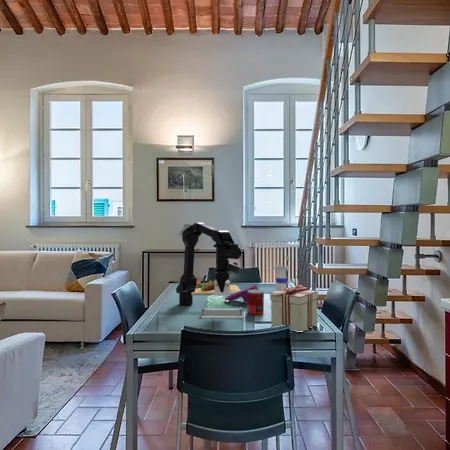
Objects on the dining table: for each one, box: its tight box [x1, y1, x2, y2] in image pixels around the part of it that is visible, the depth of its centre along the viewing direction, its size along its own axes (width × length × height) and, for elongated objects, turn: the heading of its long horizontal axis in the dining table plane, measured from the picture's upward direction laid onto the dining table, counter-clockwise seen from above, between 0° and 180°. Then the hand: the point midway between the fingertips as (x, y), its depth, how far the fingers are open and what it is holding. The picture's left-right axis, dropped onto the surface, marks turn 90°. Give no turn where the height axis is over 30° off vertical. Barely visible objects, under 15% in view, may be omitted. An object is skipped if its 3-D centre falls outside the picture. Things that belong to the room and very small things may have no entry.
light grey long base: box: [200, 306, 244, 319], centre depth 181 cm, size 19×9×4 cm, turn 91°
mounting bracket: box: [224, 283, 259, 303], centre depth 209 cm, size 9×8×18 cm
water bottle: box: [273, 255, 291, 292], centre depth 214 cm, size 8×9×25 cm
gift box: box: [269, 284, 319, 331], centre depth 164 cm, size 17×18×17 cm
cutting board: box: [192, 278, 242, 296], centre depth 241 cm, size 35×23×8 cm
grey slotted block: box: [214, 279, 231, 296], centre depth 181 cm, size 7×6×6 cm
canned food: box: [246, 289, 265, 317], centre depth 185 cm, size 8×8×11 cm
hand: (222, 291), depth 181 cm, fingers closed on grey slotted block, 6 cm apart
